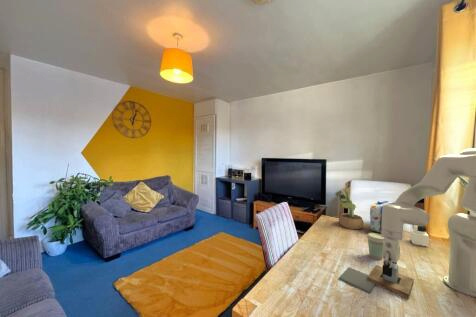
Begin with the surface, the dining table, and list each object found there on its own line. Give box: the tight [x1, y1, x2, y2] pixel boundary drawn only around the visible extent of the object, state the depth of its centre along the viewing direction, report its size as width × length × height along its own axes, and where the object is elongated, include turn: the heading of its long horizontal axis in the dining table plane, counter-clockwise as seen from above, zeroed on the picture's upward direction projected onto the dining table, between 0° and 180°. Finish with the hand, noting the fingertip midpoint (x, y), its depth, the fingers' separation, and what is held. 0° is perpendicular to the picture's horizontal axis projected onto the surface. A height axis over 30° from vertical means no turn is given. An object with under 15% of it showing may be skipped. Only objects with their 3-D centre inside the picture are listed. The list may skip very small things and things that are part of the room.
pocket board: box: [367, 264, 415, 300], centre depth 86 cm, size 14×14×2 cm
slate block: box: [382, 262, 399, 285], centre depth 86 cm, size 4×4×8 cm
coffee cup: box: [366, 232, 384, 261], centre depth 107 cm, size 8×9×12 cm
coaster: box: [338, 266, 376, 294], centre depth 88 cm, size 12×12×1 cm
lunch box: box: [369, 200, 395, 234], centre depth 143 cm, size 28×10×22 cm, turn 122°
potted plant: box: [334, 188, 365, 230], centre depth 150 cm, size 22×18×30 cm
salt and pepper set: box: [410, 225, 430, 248], centre depth 123 cm, size 7×7×12 cm
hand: (389, 270), depth 86 cm, fingers open, 9 cm apart
